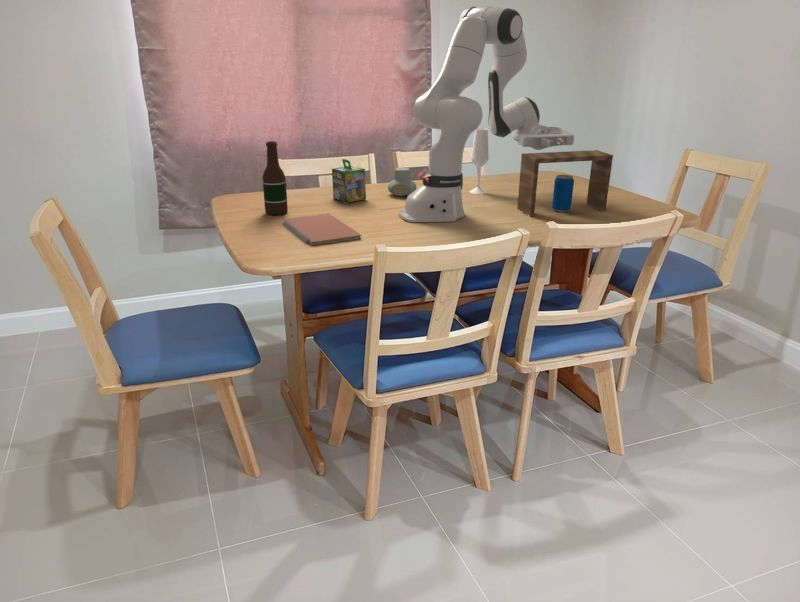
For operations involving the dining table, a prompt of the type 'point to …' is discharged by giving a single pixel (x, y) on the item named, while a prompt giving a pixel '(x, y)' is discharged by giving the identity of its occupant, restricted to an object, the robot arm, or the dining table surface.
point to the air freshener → (402, 183)
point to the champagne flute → (480, 154)
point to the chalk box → (348, 183)
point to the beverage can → (563, 193)
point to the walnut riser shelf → (598, 167)
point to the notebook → (320, 229)
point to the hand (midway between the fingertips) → (556, 143)
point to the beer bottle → (274, 183)
